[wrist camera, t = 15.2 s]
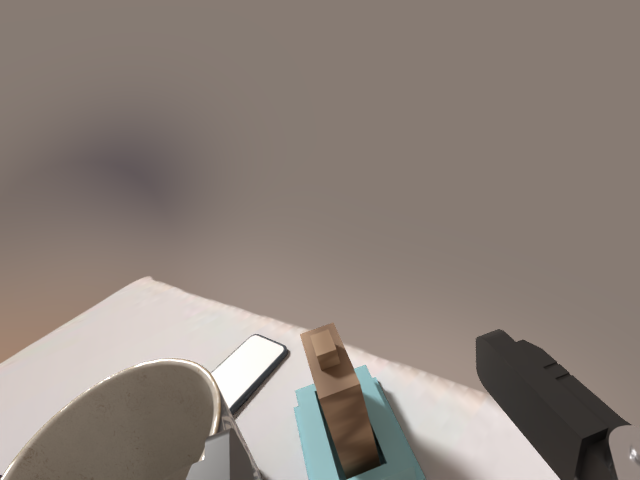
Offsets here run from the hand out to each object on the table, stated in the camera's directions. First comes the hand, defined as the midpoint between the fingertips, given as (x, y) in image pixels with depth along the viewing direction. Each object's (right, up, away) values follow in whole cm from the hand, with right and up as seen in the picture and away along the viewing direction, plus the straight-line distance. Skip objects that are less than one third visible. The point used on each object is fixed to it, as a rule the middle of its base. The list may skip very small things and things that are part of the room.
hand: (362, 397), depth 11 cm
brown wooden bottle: (+2, -19, +31) cm, 37 cm away
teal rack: (+3, -19, +32) cm, 37 cm away
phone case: (-14, -17, +45) cm, 50 cm away
